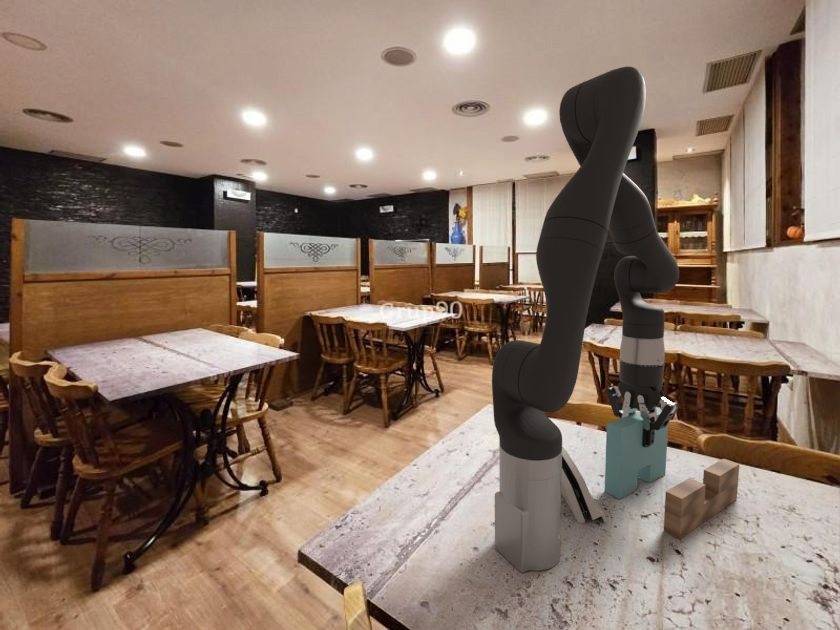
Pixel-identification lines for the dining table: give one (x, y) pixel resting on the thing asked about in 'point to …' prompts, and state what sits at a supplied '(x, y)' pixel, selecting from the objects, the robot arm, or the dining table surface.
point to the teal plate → (632, 455)
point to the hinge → (577, 492)
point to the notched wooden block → (700, 498)
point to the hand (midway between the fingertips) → (637, 442)
